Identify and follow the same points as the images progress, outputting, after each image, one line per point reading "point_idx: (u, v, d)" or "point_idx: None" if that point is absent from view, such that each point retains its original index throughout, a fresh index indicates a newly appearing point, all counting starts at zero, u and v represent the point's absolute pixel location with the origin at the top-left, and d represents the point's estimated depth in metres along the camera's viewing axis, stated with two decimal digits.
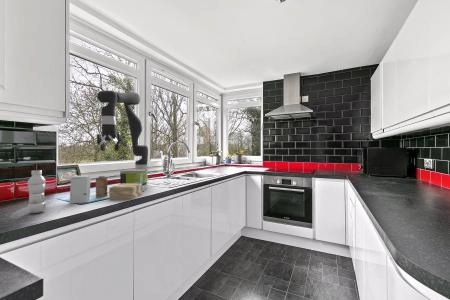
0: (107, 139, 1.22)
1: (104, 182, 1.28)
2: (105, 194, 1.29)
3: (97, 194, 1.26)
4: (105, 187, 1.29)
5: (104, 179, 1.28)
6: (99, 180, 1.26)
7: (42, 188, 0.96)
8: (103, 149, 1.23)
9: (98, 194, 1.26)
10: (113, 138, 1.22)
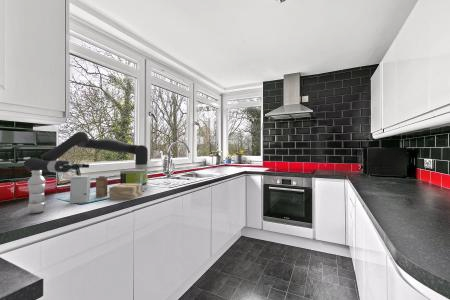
0: None
1: (104, 182, 1.28)
2: (105, 194, 1.29)
3: (97, 194, 1.26)
4: (105, 187, 1.29)
5: (104, 179, 1.28)
6: (99, 180, 1.26)
7: (42, 188, 0.96)
8: (86, 166, 1.33)
9: (98, 194, 1.26)
10: None
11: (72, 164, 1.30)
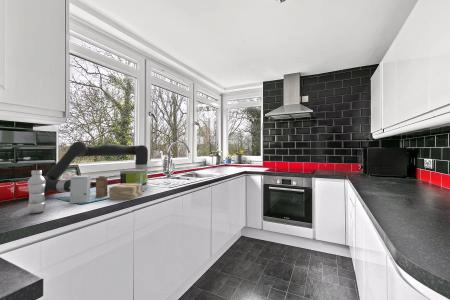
0: None
1: (104, 182, 1.28)
2: (105, 194, 1.29)
3: (97, 194, 1.26)
4: (105, 187, 1.29)
5: (104, 179, 1.28)
6: (99, 180, 1.26)
7: (42, 188, 0.96)
8: (95, 184, 1.33)
9: (98, 194, 1.26)
10: None
11: None
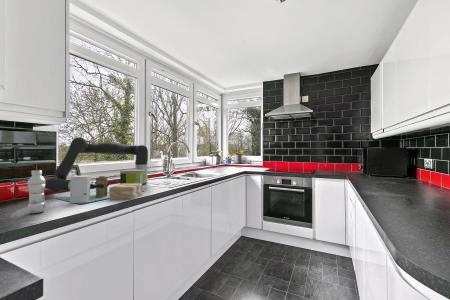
0: None
1: (104, 181, 1.28)
2: (105, 194, 1.29)
3: (97, 194, 1.26)
4: (105, 187, 1.29)
5: (104, 179, 1.28)
6: (99, 180, 1.26)
7: (42, 188, 0.96)
8: None
9: (98, 194, 1.26)
10: (91, 186, 1.26)
11: (92, 183, 1.29)
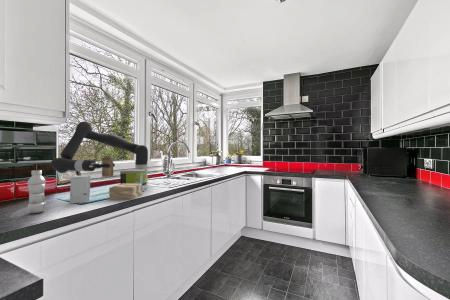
0: None
1: (110, 161, 1.28)
2: (111, 174, 1.29)
3: (103, 174, 1.26)
4: (111, 167, 1.29)
5: (110, 159, 1.28)
6: (106, 160, 1.26)
7: (42, 188, 0.96)
8: None
9: (104, 173, 1.26)
10: (97, 166, 1.26)
11: (98, 163, 1.29)
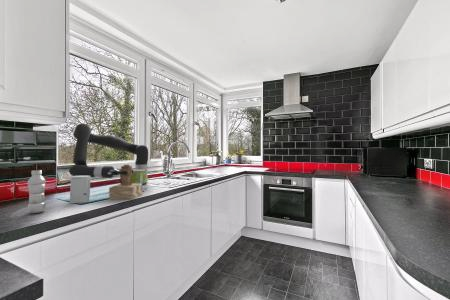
0: None
1: (129, 170, 1.28)
2: (130, 182, 1.28)
3: (122, 182, 1.26)
4: (130, 175, 1.28)
5: (129, 167, 1.27)
6: (125, 168, 1.26)
7: (42, 188, 0.96)
8: None
9: (123, 182, 1.26)
10: (115, 173, 1.26)
11: (117, 170, 1.29)
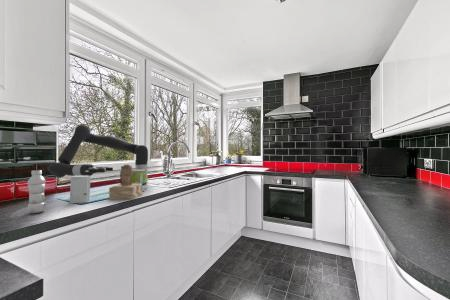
0: None
1: (129, 170, 1.28)
2: (130, 182, 1.28)
3: (122, 182, 1.26)
4: (130, 175, 1.28)
5: (129, 167, 1.27)
6: (125, 168, 1.26)
7: (42, 188, 0.96)
8: (110, 169, 1.33)
9: (123, 182, 1.26)
10: None
11: (96, 167, 1.30)
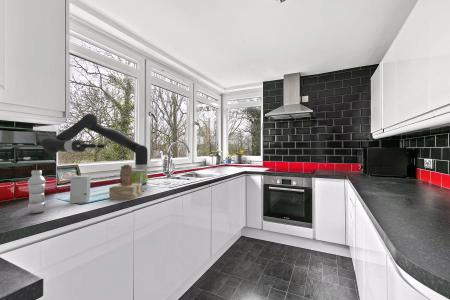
0: (90, 147, 1.31)
1: (129, 170, 1.28)
2: (130, 182, 1.28)
3: (122, 182, 1.26)
4: (130, 175, 1.28)
5: (129, 167, 1.27)
6: (125, 168, 1.26)
7: (42, 188, 0.96)
8: (102, 146, 1.34)
9: (123, 182, 1.26)
10: None
11: (88, 144, 1.32)
